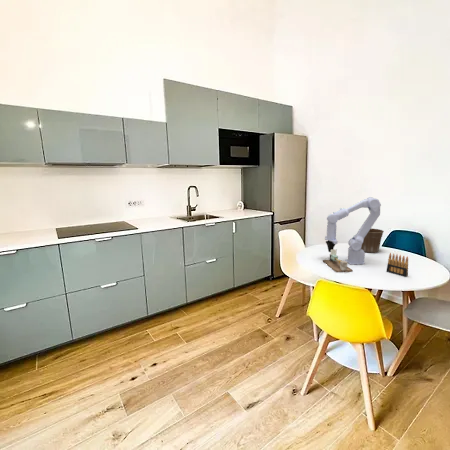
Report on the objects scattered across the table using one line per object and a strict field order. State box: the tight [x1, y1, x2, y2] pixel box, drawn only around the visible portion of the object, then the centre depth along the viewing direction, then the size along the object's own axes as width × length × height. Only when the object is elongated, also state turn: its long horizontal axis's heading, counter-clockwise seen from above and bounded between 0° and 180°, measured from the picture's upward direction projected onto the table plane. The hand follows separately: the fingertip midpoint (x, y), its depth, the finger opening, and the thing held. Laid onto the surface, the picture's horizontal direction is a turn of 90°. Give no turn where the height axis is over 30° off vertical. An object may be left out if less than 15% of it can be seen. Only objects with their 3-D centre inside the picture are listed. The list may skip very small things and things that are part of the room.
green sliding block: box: [330, 248, 339, 261], centre depth 169 cm, size 4×4×6 cm
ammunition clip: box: [385, 252, 409, 278], centre depth 150 cm, size 11×2×12 cm, turn 33°
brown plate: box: [322, 253, 354, 273], centre depth 166 cm, size 10×20×6 cm, turn 2°
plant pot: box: [361, 228, 384, 254], centre depth 195 cm, size 16×16×16 cm
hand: (330, 251), depth 175 cm, fingers closed
